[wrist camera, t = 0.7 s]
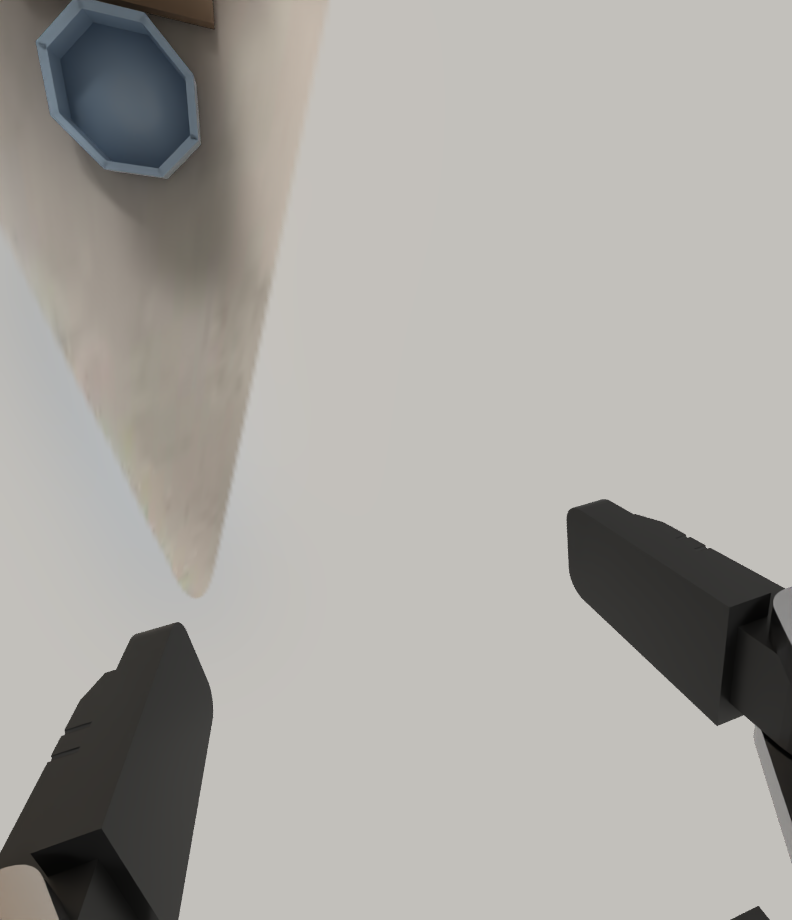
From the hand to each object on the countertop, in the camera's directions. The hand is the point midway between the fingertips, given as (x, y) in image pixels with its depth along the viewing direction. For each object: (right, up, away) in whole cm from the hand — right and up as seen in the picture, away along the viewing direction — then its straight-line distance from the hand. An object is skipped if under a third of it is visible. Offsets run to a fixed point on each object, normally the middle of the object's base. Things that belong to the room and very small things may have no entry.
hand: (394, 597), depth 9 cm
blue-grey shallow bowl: (-15, +23, +16) cm, 31 cm away
